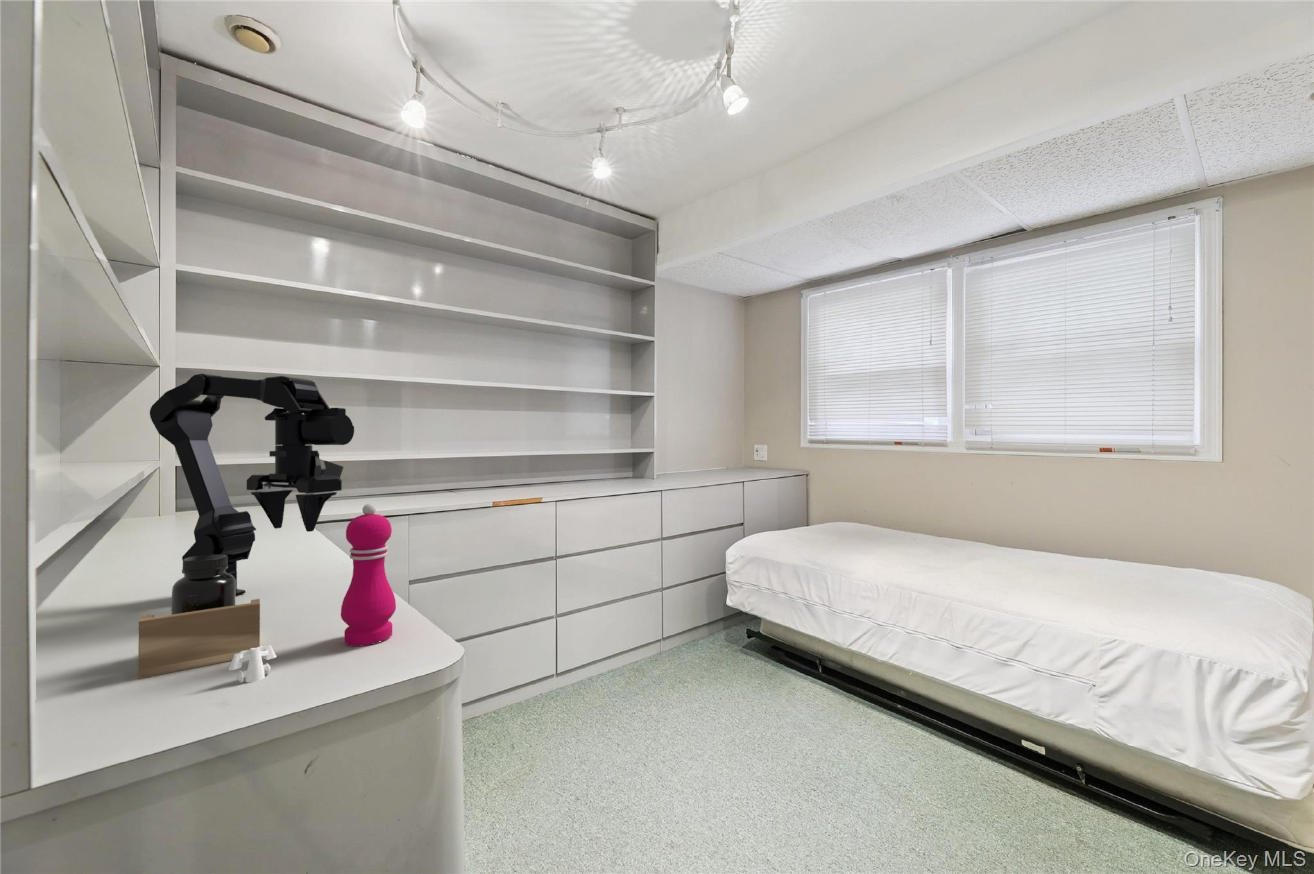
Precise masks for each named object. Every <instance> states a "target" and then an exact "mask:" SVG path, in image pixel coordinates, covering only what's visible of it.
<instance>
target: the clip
mask: <svg viewBox="0 0 1314 874" xmlns="http://www.w3.org/2000/svg"><path fill="white" fill-rule="evenodd" d="M262 657H263V658H262ZM275 658H277V654H276V653H275V651H274V649H273V647H272V645H270V644H269V645H260V647H257V648H251V649H250V650H246V651H241V652H240V653H238V654H235V655H234V657H233V659H232V660H231V662H230V664H229V667H228V669H227V670H228V671H233V670H238V669H241V668H243V666H242V665H243V663H244V662H247V661H249V662H248V665H247V669H246V670H244V671H242V670H238V673H237V674H236V675H237V676H236V678H237V681H239V683H240V684H242V683H243V682H244V677H245V683H255V682H258V681H261V680H263V679H265V677H266V676H268V675H270V672H271V665H270V664H269V663H268V662H265V663H263V660H267V661H269V660H272V659H275ZM265 675H266V676H265Z"/></svg>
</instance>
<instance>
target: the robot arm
mask: <svg viewBox="0 0 1314 874" xmlns="http://www.w3.org/2000/svg"><path fill="white" fill-rule="evenodd" d="M201 396H206V397H205V398H204V399H203V400H198V398H199V397H201ZM224 397H231V398H232V397H233V398H244V399H254V400H257V401H260V402H262V403H263V404H266V405H269V406H272V407H274V408H273V410H272V411H270V412H269V413H268V414H267V415H265V416H264V420H265V421H271V422H273V421H274V426H275V427H274V439H275V440H274V444H275V446H274V450H269V458H270V457H274V472H272V473H266V474H265V473H263V474H251V476H249V477H248V478H247V479H246V491H251V492H250V493H251V495H252V496H254V498H255V499H256V500H257V502H258V503H259V505H260V506H261V508H262V509H263V511H264V514H265V515H266V516H267V518H268V520H269V521H270V523H271V525H272V526H273V528H274V529H282V527H283V523H284V522H283V521H284V514H285V505H286V504H285V503H286V499H287V498H288V497H289V496H290V494H292V492H293V489H296V490H297V492H298V493H299V494H295V499H296V501H297V505H298V509H299V512H300V516H301V520H302V523H303V525H304V528H305V531H306V532H307V533H308V532H314V530H315V528H316V525H317V523H318V521H319V518H320V514H321V513H322V510H323V507H324V505H325V503H326V502H327V501H328V500H329V499H330V498H332V497H333V496H336V495H337V494H338V491H342V490H343V480H342V479H341V477H342V473H343V470H344V466H342V465H339V464H336V463H334V462H332V461H328V460H324V459H321V458H320V453H319V450H313V445H314V446H345V445H348V444H349V443H350V442H351V441H352V439H353V437H354V435H355V426H354V424H353V422H352V419H350V416H348V414H346V413H347V411H346V410H347V409H346V408H345V407H329V405H328V404H327V401H326V400H325V399H324V398H323V396H322V394H321V393H320V392H319V388H318V386H317V384H316V382H315V381H313V380H310V379H305V378H298V377H291V376H285V375H278V376H270V377H269V376H268V377H265V378H262V379H249V378H240V377H230V376H222V375H217V374H209V373H198V374H193V375H192V376H191V377H190V378H189V379H188V380H187V381H186V382H184V383H182V384H180V385H178V386H175V387H174V388H172V389H169V390H167V391H165V392H164V393H163V394H162V395H161V396H160V397H159V398H158V399H157V400H156V401H155V402H154V403H153V404H152V406H151V407H150V409H149V417H150V420H151V422H152V424H153V426H154V427H155V429H156V431H157V433H158V434H159V435H160V436H161V437H162V438H163V439H165V440H166V441H167V442H169V443H170V444H171V445H172V446H173V447H174V448H175V452H176V455H177V457H178V459H179V463H180V465H181V469H182V471H183V473H184V477H185V479H186V483H187V485H188V487H189V490H190V493H191V494H190V495H191V496H192V499H193V502H194V504H195V507H196V510H197V513H198V518H197V519H198V520H197V522H196V524H195V527H194V529H193V534H194V540H195V542H193V544H192V545H191V546H190V547H189V549H188V550H187V551H186V552H185V553H184V554H183V555H182V557H181V560H182V561H183V560H184V559H186V558H189V557H194V556H201V555H213V554H222V555H227V557H228V560H227V564H228V568H227V569H226V570H225V572H226V573H229V574H231V575H232V576H233V577H234V578H235V580H236V596H239V595H243V594H246V590H245V589H239V588H237V587H238V571H237V570H238V562H239V561H242V560H243V561H244V560H248V559H249V558H250V555H251V551H252V547H253V545H254V542H255V541H256V534H255V531H257V528H256V527H255V525H253V522H252V518H251V514H250V513H249V511H248V510H245V511H238V510H237V509H236V508H234V507H233V505H232V503H231V500H230V498H229V494H228V492H227V490H226V487H225V484H224V481H223V480H224V479H222V475H221V473H220V470H219V467H218V465H217V462H216V459H215V456H214V453H213V450H212V448H211V445H210V442H209V436H210V433H211V431H212V428H213V421H212V417H213V416H215V414H216V413H217V412H219V411H220V408H221V403H222V399H223V398H224ZM284 488H285V489H284ZM289 488H290V489H289Z"/></svg>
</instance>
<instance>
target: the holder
mask: <svg viewBox="0 0 1314 874" xmlns="http://www.w3.org/2000/svg"><path fill="white" fill-rule="evenodd" d="M260 601H261V600H260V598H254V599H250V602H248V603H242V604H235V605H234V606H227V607H220V608H213V609H206V610H200V611H193V612H186V613H179V614H173V615H171V614H167V615H166V614H165V615H161V616H160V615H159V616H154V614H153V613H151V614H144V615H141V617H140V619H139V620H138V647H137V648H138V659H137V662H138V665H137V666H138V672H137V673H138V674H137V676H138V679H144V678H149V677H154V676H159V675H163V674H169V673H175V672H180V671H183V670H185V671H186V670H190V669H195V668H200V667H205V666H210V665H211V666H212V665H215V664H221V663H225V662H230V661H231V662H232V659H233V657H234V655H235V654H238V653H240V652H241V651H246V650H250V649H251V648H257V647H260V646H261V645H260V643H261V641H260V639H261V632H260V631H261V625H260V624H261V603H260Z"/></svg>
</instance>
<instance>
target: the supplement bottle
mask: <svg viewBox="0 0 1314 874" xmlns="http://www.w3.org/2000/svg"><path fill="white" fill-rule="evenodd" d="M227 560H228V557H227V555H222V554H213V555H201V556H194V557H189V558H186V559H184V560H182V569H181V574H182V575H183V577H181V578H180V579H178V580H177V581H176V582H175V583H174V584H173V585H172V588H171V609H170V611H171V613H170V615H173V614H179V613H186V612H193V611H200V610H206V609H213V608H220V607H227V606H234V605H236V596H237V595H236V580H235V578H234V577H233V576H232V575H231V574H229V573H226V572H225V570H226V569H227V568H228V564H227Z"/></svg>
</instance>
